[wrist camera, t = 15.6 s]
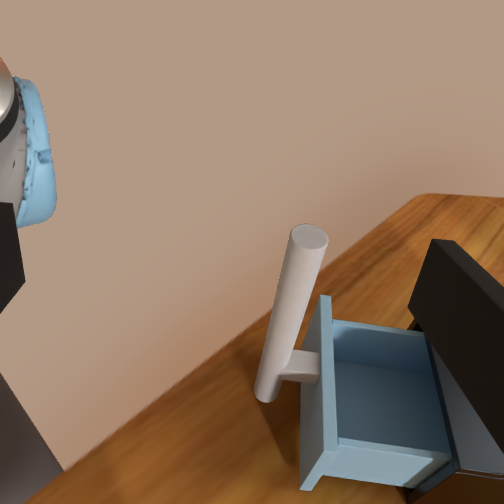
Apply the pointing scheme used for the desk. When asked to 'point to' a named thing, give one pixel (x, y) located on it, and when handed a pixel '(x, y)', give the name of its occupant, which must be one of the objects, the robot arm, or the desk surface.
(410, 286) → the desk surface
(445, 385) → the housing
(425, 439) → the light blue plastic piece
